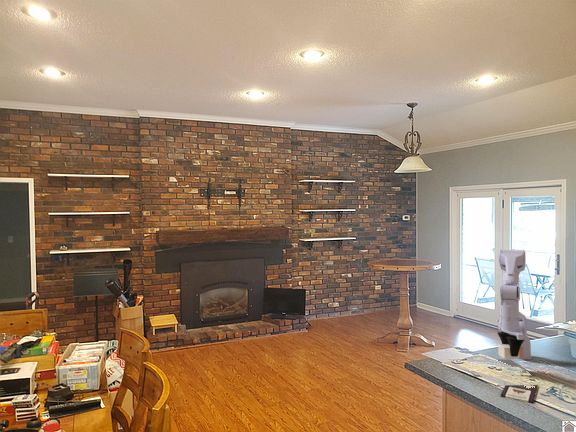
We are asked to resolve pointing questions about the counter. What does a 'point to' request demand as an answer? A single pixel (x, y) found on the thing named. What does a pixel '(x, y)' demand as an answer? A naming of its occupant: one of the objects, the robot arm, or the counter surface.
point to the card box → (505, 352)
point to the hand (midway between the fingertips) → (510, 354)
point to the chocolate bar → (519, 393)
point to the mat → (511, 367)
